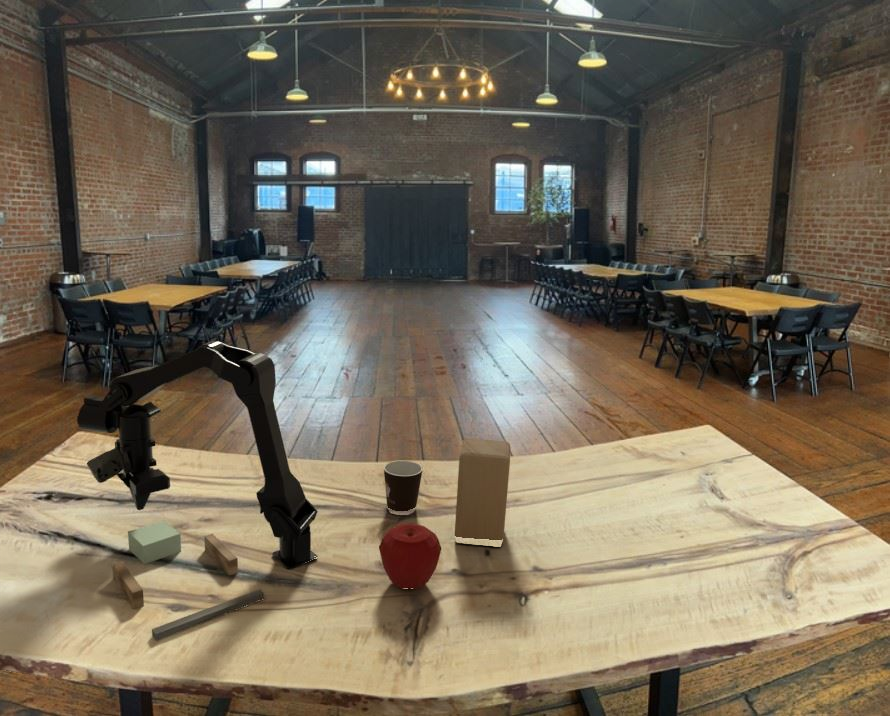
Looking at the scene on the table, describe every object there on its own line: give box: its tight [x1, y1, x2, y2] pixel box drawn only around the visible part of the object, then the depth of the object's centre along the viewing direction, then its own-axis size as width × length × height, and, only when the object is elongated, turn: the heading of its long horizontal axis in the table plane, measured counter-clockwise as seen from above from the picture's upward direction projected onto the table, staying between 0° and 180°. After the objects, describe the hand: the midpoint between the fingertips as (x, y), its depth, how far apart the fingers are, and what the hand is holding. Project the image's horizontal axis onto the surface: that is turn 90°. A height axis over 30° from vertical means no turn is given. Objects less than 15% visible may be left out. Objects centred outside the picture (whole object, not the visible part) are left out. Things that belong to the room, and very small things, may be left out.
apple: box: [378, 522, 442, 589], centre depth 122 cm, size 11×11×12 cm
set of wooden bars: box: [111, 533, 265, 642], centre depth 118 cm, size 21×18×3 cm
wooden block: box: [454, 437, 511, 540], centre depth 140 cm, size 10×10×20 cm
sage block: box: [127, 519, 182, 565], centre depth 129 cm, size 7×7×4 cm
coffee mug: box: [383, 459, 423, 511], centre depth 152 cm, size 12×9×10 cm
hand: (140, 509), depth 134 cm, fingers closed
